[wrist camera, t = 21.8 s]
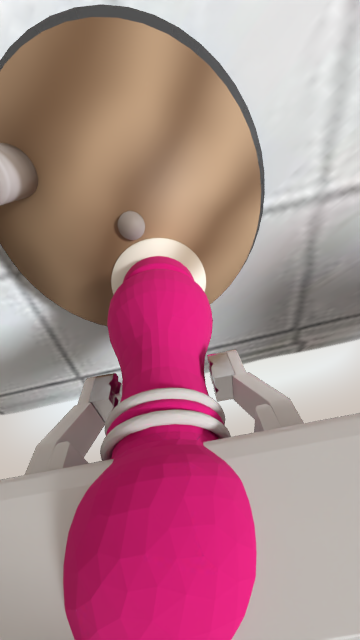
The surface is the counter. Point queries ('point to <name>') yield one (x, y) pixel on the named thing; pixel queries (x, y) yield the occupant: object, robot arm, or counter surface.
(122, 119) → the turntable
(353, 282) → the counter surface
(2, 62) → the base
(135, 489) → the pepper mill
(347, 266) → the counter surface
